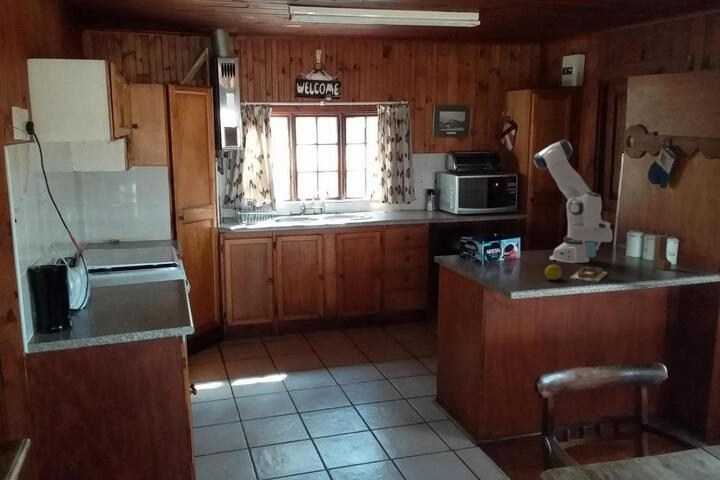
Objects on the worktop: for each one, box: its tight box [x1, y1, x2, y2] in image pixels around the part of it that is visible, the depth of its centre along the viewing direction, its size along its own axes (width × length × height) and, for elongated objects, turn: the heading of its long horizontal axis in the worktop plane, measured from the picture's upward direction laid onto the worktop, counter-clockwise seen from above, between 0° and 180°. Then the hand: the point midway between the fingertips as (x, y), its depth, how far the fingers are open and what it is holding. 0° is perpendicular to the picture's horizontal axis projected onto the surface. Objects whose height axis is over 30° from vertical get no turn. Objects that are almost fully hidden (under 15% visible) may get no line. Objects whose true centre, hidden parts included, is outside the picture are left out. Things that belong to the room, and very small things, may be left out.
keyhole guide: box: [569, 266, 608, 283], centre depth 331 cm, size 14×20×3 cm
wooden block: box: [653, 234, 672, 271], centre depth 343 cm, size 9×4×18 cm, turn 12°
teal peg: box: [586, 241, 597, 258], centre depth 331 cm, size 4×4×8 cm
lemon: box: [544, 264, 563, 281], centre depth 325 cm, size 11×8×8 cm
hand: (591, 249), depth 331 cm, fingers closed on teal peg, 4 cm apart
